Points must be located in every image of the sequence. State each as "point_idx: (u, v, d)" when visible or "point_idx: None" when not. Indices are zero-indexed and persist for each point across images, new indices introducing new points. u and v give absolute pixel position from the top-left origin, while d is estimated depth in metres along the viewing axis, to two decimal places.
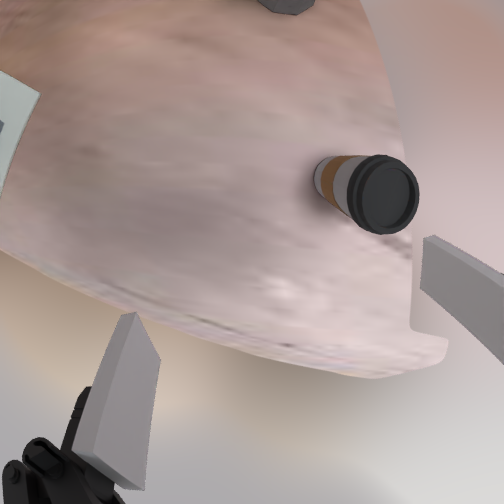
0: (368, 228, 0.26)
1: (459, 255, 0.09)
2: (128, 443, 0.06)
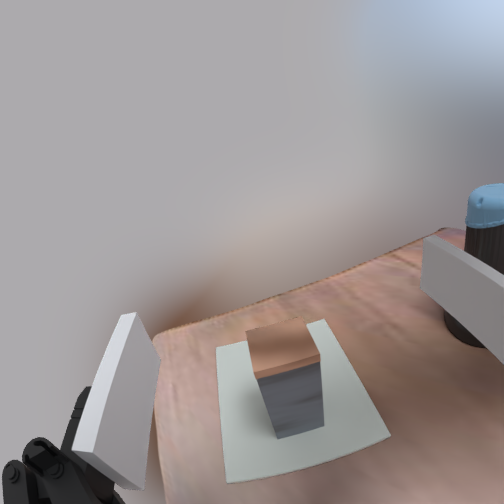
0: None
1: (459, 255, 0.09)
2: (128, 443, 0.06)
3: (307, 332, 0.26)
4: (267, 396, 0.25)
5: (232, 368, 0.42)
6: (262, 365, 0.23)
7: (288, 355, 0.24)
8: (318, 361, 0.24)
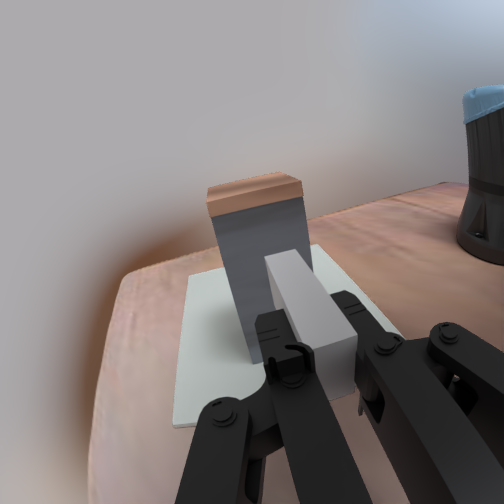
0: None
1: (298, 272, 0.11)
2: None
3: (285, 175, 0.20)
4: (230, 261, 0.19)
5: (205, 292, 0.36)
6: (220, 197, 0.17)
7: (257, 187, 0.18)
8: (300, 196, 0.18)
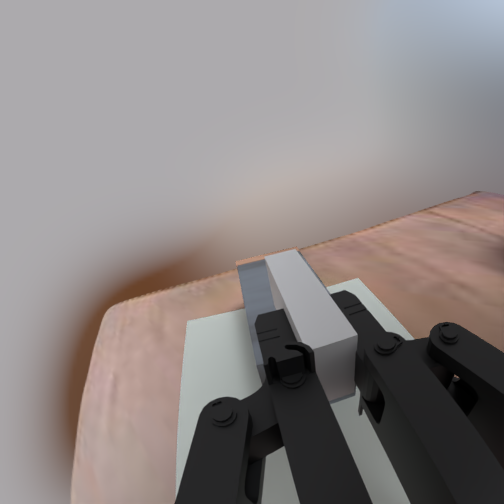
0: None
1: (298, 272, 0.11)
2: None
3: None
4: (245, 280, 0.23)
5: (209, 353, 0.24)
6: None
7: None
8: (297, 251, 0.26)
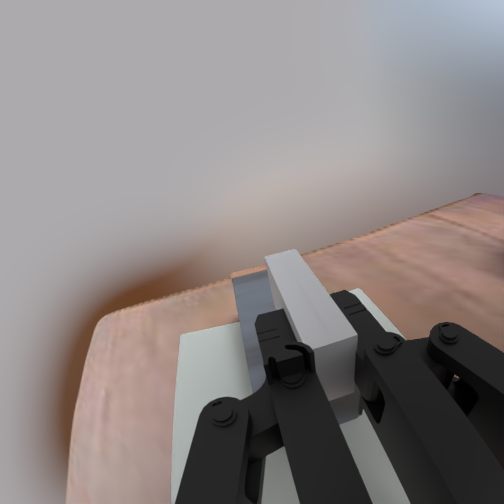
0: None
1: (298, 272, 0.11)
2: None
3: None
4: (241, 295, 0.22)
5: (204, 370, 0.23)
6: None
7: None
8: None
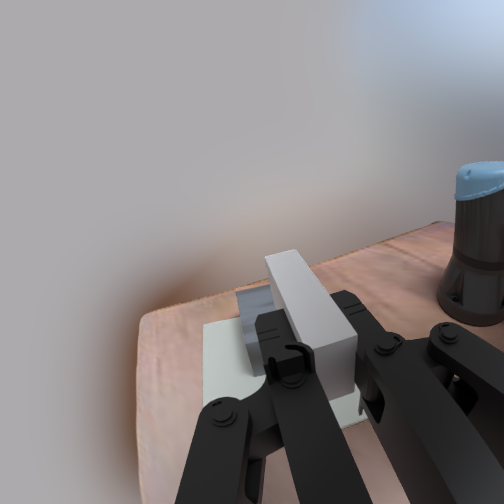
0: None
1: (298, 272, 0.11)
2: None
3: None
4: (240, 301, 0.41)
5: (219, 343, 0.42)
6: None
7: None
8: None
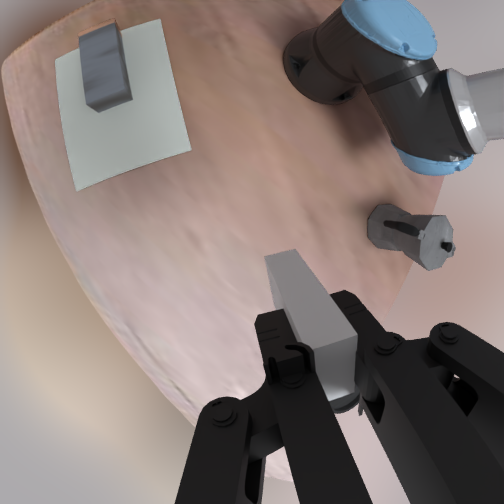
0: None
1: (298, 272, 0.11)
2: None
3: None
4: (82, 50, 0.26)
5: (69, 80, 0.32)
6: None
7: None
8: (113, 22, 0.26)
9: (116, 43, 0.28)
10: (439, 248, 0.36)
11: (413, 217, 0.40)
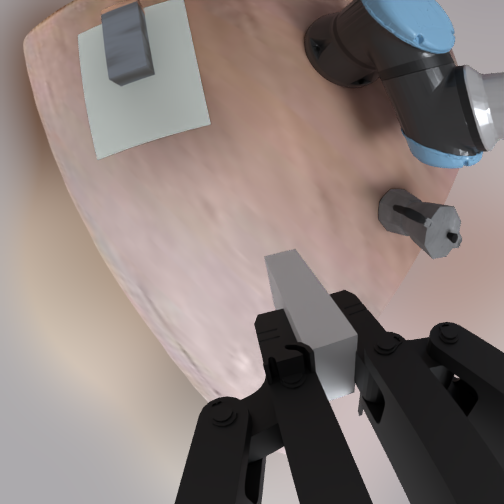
0: None
1: (298, 272, 0.11)
2: None
3: (139, 5, 0.28)
4: (105, 27, 0.26)
5: (92, 54, 0.32)
6: None
7: None
8: (135, 1, 0.25)
9: (138, 21, 0.27)
10: (445, 238, 0.36)
11: (422, 204, 0.40)
